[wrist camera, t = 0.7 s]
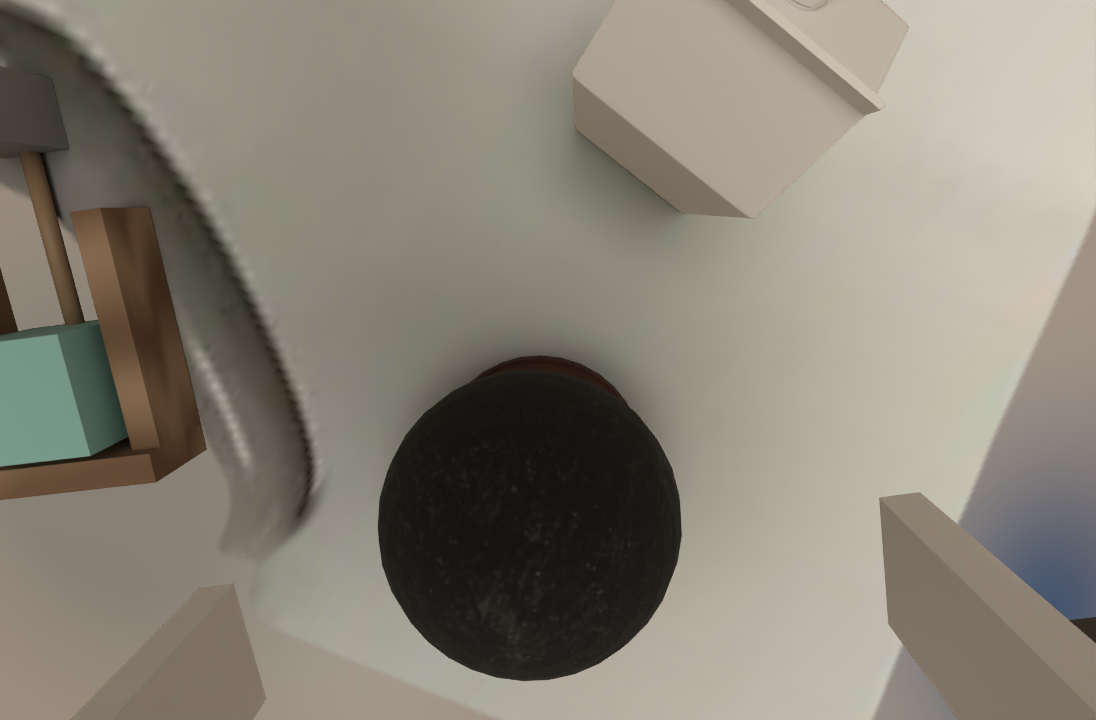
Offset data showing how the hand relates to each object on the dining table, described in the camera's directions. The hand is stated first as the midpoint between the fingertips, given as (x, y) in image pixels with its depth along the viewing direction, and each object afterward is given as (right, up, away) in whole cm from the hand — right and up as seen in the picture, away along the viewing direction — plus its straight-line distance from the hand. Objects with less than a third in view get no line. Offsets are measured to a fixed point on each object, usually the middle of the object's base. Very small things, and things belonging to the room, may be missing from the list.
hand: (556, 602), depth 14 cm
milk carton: (+6, +17, +22) cm, 28 cm away
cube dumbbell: (-26, +10, +24) cm, 37 cm away
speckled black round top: (-1, 0, +26) cm, 26 cm away
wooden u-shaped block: (-26, +6, +25) cm, 36 cm away
